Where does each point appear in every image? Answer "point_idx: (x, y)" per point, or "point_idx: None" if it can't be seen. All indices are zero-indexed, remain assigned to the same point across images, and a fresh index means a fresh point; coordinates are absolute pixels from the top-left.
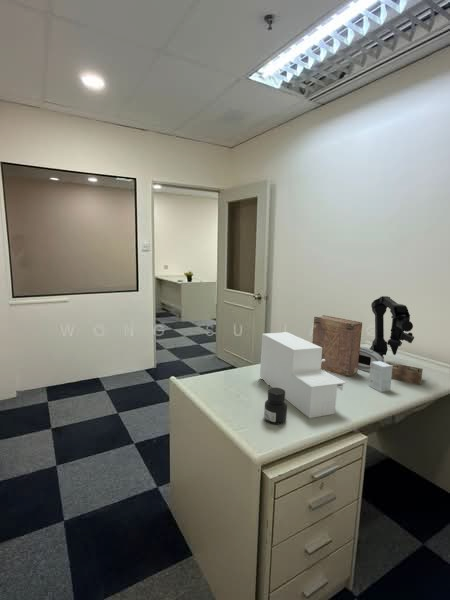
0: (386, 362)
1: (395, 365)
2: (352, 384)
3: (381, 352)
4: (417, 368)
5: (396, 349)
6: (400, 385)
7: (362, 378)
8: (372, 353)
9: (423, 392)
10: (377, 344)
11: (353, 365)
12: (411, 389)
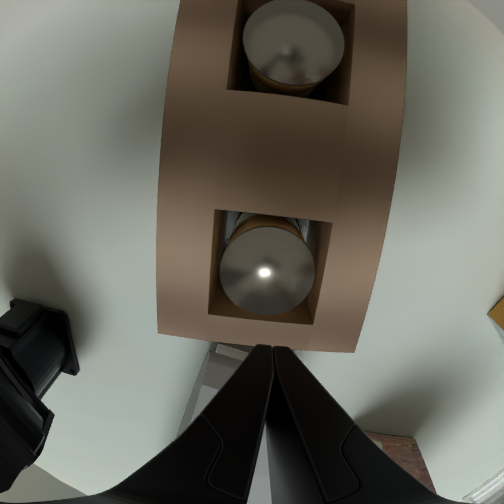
0: (184, 335)
1: (268, 249)
2: (493, 400)
3: (7, 376)
4: (214, 4)
5: (363, 445)
6: (459, 180)
7: (415, 394)
8: (248, 500)
9: (495, 57)
10: (10, 468)
11: None
12: (490, 118)
